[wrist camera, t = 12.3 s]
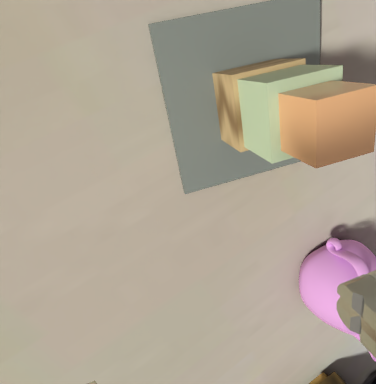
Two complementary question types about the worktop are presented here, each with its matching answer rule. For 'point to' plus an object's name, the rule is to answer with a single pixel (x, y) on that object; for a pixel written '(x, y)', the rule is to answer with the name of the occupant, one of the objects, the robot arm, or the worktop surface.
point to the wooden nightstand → (328, 379)
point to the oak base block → (229, 96)
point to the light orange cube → (328, 122)
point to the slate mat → (219, 61)
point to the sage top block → (274, 104)
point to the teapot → (333, 277)
